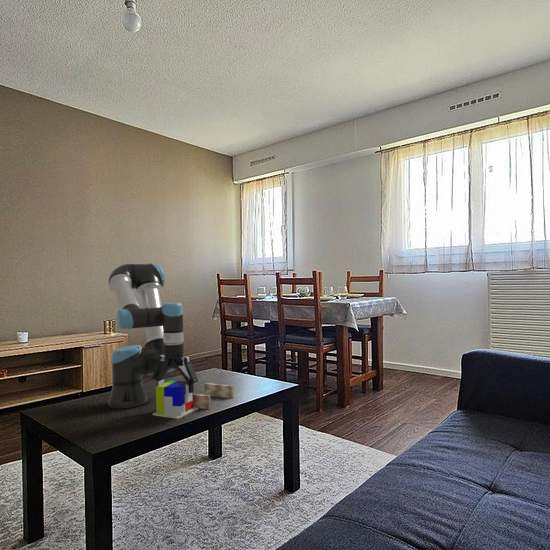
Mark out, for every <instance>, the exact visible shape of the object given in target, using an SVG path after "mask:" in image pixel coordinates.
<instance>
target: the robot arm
mask: <svg viewBox="0 0 550 550" xmlns="http://www.w3.org/2000/svg"><path fill="white" fill-rule="evenodd" d="M164 273H165V272H164V269H163V268H162V267H161V265H160V264H157V263H126V264H122V265H119V266H118V267H115V269H114V270H112V272H111V273H110V275H109V277H108V286H109V289H110V290H111V291H112V292H113V294H114V296H115V299H116V303H117V306H118V308H119V309H118V310H117V312H116V323H117V325H116V326H117V327H118V328H119V329H120V330H131V329H141V328H142V329H143V328H144V329H145V336H146V342H145V343H144V346H143V347H142V345H141V344H131V345H126V346H122V347H119V348H116V349H115V350H113V351H112V354H111V361H110V362H111V370H112V371H111V372H112V373H111V375H112V376H111V377H112V383H111V384H112V388H111V392H110V394H109V398H108V403H107V404H108V407H109V408H110V409H116V410H117V409H119V410H121V409H122V410H123V409H129V408H136V407H139V406H143V405H145V404H146V403H147V402H148V395H147V393H146V389H145V387H144V385H143V384H144V383H143V377H145V376H151V377H152V379H153V380H155V381H156V387H157V386H159V385H161V384H164V383H165V379H164V377H165V376H166V375H167V373H172V372H174V371H175V370H176V369H177V370H178V371H179V372H180V374H181V376H182V377H183V379H184V381H186V382H187V384H186V402H190V401H192V400H193V399H192V392H193V393H194V389H195V388H194V387H195V386H194V383H197V382H198V381H199V379H198V377H197V374H196V371H195V369H194V367H193V364H192V362H191V357H190V356H186V357H185V356H184V352H185V344H184V341H185V340H184V339H185V338H184V337H185V336H184V310H183V309H184V308H183V304H182V302H166V303H163V304H162V299H161V293H160V292H161V291H162V289H163V287H164V286H165V282H166V281H165V274H164ZM134 290H136V291H135V292H136V294H137V295H139V296H140V303H141V308H140V304H139V302H138V299H137V297H136V294H135V292H134Z"/></svg>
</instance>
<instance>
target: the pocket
mask: <svg viewBox="0 0 550 550" xmlns="http://www.w3.org/2000/svg"><path fill="white" fill-rule="evenodd" d="M203 385H204V394H200V393H193V407H196V408H198V409H205V410H211V409H212V407H211V404H212V403H211V400H212V399H211V397H215V398H216V397H218V398H225V397H226V398H225V399H233V398H234V385H231V384H230V385H229V384H219V383H211V382H210V383H209V382H205V383H204V384H203Z"/></svg>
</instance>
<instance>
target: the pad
mask: <svg viewBox="0 0 550 550" xmlns="http://www.w3.org/2000/svg"><path fill="white" fill-rule="evenodd" d="M198 410H199V408H196V407H193V408H192V409H190V410H189V411H187V412H186V413H184V414H183V415H181V416H180V415H162V414H157V411H155V412H153V413H152V416H156V417H163V418H168V419H169V418H170V419H175V420H179V419H180V418H183V417H186V416H187V415H190V414H191V413H193V412H195V411H198Z"/></svg>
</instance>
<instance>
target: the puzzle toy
mask: <svg viewBox="0 0 550 550" xmlns="http://www.w3.org/2000/svg"><path fill="white" fill-rule="evenodd" d="M186 384H187V382H186V380H168V381H165V382H164V384H161V385H159V386H157V385H156V387H155V402H156V403H155V404H156V408H155V409H156V411H155V412H157V414H162V415H180V416H181V415H183V414H184V413H186V412H187V411H189V410H190V409H192V408H193V400H192V401H190V402H186ZM193 394H194V391H193V392H192V399H193Z"/></svg>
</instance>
